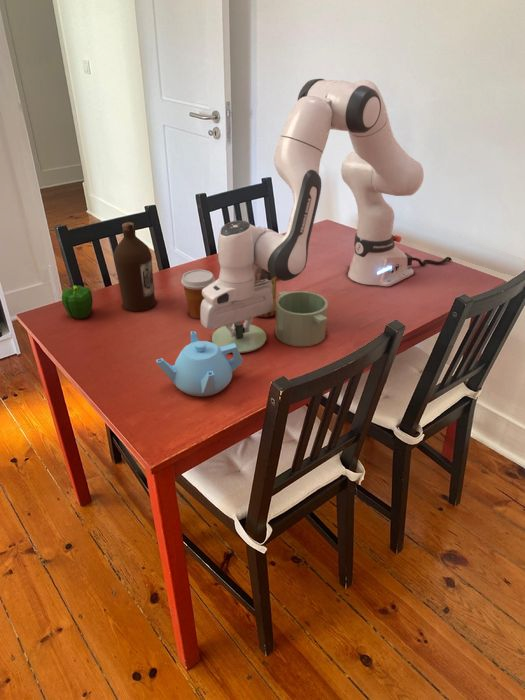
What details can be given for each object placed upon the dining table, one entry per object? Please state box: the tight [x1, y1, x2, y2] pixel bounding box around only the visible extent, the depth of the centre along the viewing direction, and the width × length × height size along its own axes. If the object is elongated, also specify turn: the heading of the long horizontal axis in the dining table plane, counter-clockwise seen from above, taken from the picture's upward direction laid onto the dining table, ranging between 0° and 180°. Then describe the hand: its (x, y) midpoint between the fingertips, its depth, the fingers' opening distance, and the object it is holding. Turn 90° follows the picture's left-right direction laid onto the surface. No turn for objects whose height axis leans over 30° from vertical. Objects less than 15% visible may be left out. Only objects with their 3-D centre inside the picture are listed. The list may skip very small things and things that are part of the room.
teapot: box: [155, 330, 244, 398], centre depth 123 cm, size 15×15×11 cm
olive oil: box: [113, 221, 156, 312], centre depth 153 cm, size 11×11×25 cm
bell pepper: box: [61, 285, 93, 320], centre depth 152 cm, size 8×8×10 cm
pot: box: [274, 290, 329, 347], centre depth 142 cm, size 14×19×10 cm
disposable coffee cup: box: [180, 269, 216, 319], centre depth 152 cm, size 10×10×12 cm
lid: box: [211, 321, 267, 354], centre depth 141 cm, size 15×15×5 cm
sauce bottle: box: [255, 267, 277, 318], centre depth 149 cm, size 6×6×20 cm
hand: (238, 333), depth 141 cm, fingers open, 3 cm apart
